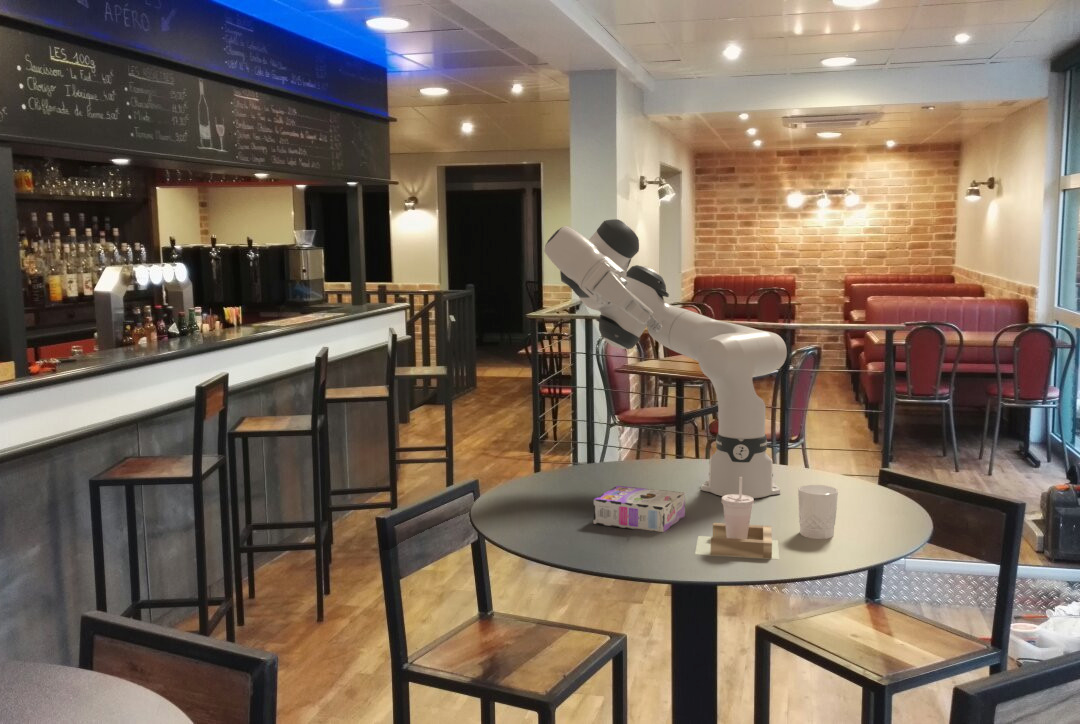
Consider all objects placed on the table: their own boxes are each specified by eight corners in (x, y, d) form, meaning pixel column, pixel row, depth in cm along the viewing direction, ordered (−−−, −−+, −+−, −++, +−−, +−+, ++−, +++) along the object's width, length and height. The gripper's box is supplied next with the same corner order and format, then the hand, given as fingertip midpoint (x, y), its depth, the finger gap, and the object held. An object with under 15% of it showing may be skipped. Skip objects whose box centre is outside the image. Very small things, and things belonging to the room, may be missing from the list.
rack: (713, 537, 206) (713, 522, 205) (770, 540, 203) (771, 525, 203) (710, 554, 194) (710, 539, 194) (771, 558, 192) (772, 543, 192)
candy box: (592, 525, 217) (663, 534, 209) (592, 498, 216) (664, 507, 208) (617, 509, 229) (686, 517, 221) (617, 484, 228) (686, 491, 220)
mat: (698, 538, 207) (698, 535, 207) (777, 542, 203) (777, 540, 203) (694, 556, 195) (694, 554, 195) (779, 561, 192) (779, 559, 192)
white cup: (806, 528, 213) (808, 482, 212) (842, 535, 208) (844, 488, 207) (790, 537, 207) (791, 490, 206) (827, 544, 202) (828, 496, 201)
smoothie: (747, 552, 196) (748, 482, 194) (716, 547, 199) (717, 478, 197) (757, 543, 201) (758, 475, 200) (726, 538, 205) (727, 471, 203)
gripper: (610, 304, 218) (655, 344, 213) (581, 284, 199) (630, 328, 194) (629, 282, 217) (675, 322, 212) (602, 259, 198) (652, 303, 193)
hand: (654, 325), depth 203 cm, fingers open, 8 cm apart
